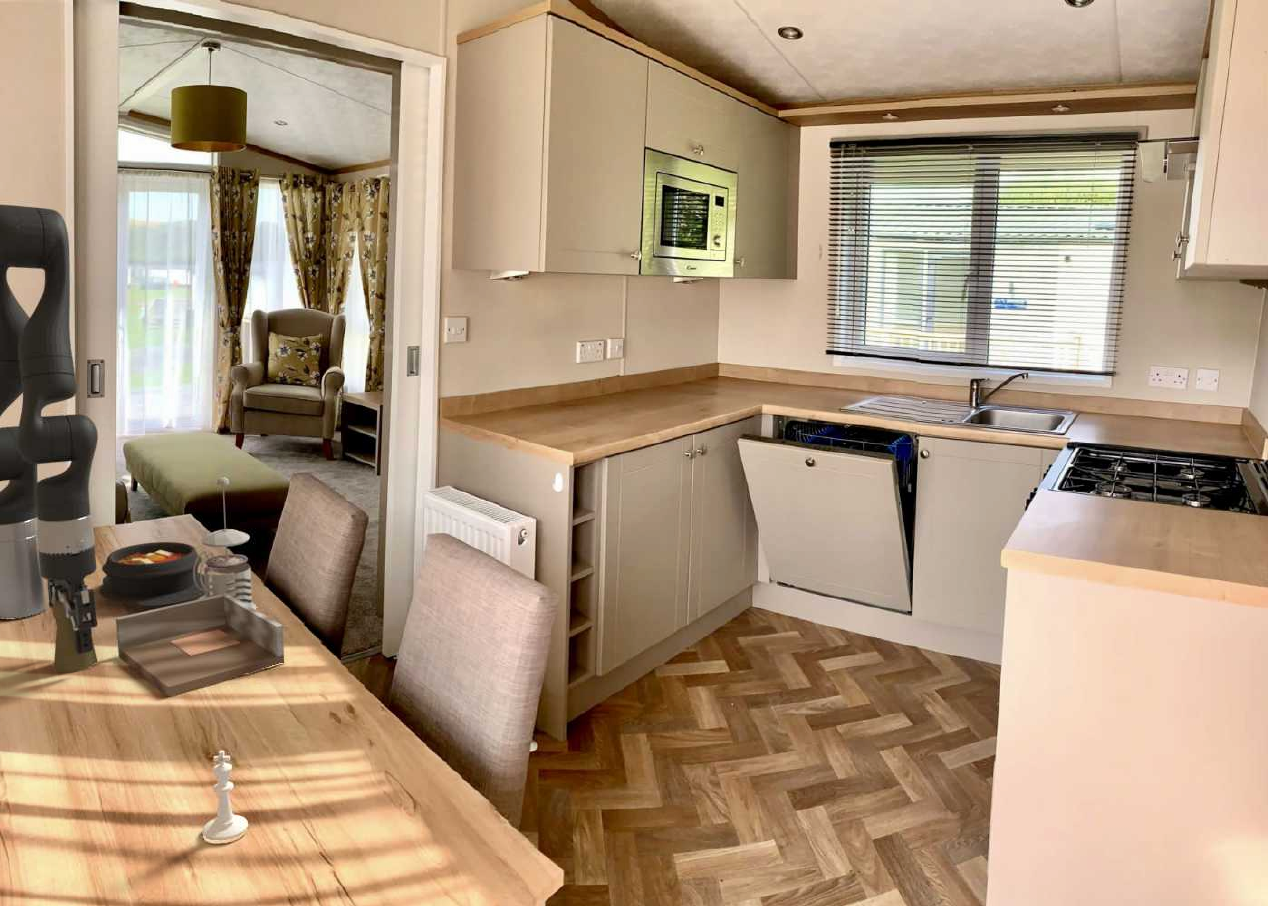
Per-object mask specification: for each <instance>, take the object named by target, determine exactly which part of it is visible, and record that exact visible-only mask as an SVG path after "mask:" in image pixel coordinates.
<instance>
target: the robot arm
mask: <svg viewBox="0 0 1268 906" xmlns="http://www.w3.org/2000/svg"><path fill="white" fill-rule="evenodd" d="M70 264H71V263H70V242H69V233H68V228H67V224H66V221H65V219H64V217H63V216H62V214H61V213H59V211H57V210H55V209H51V208H43V207H35V206H34V207H33V206H24V205H14V204H13V205H12V204H11V205H10V204H0V418H1V416H2V415H3V414H4V413H5V411H7V409H8V408H9V407H10V406H11V405H12V404H13V403H15V401H16V400H18V398H20V397H21V396H22V404H21V406H22V407H21V414H20V419H19V424H18V425H17V426H16V425H15V426H14V425H13V426H5V427H4V426H3V427H0V482H5V481H6V482H7V481H8V484H7V485H6V486H4V488H3V489H2V490H1V491H0V619H2V618H3V619H7V618H9V619H10V618H19V619H21V618H20V617H25V618H28V617H27V616H29V617H32V616H36V615H38V614H40V613H42V612H44V611H45V610H46V609H47V607H48V606H49V608H50V609H52V607H53V604H54V602H55V601H56V600H58V599H59V600H60V601H61V602H62V603H63V607H64V610H65V614H66V617H67V618H69V619H71V621H72V624H73V629H74V637H75V649H76V652H77V653H79V654H82V653H86V652H90V651H92V649H93V644H94V643H93V644H92V640H93V636H92V635H93V633H92V628H96V627H98V621H97V609H96V597H95V591H94V588H89V586H88V584H86V583H85V579H86V577H88V576H90V575H92V574H93V573H95V572H96V571H97V559H96V548H95V547H96V546H95V545H96V544H95V532H94V525H93V520H92V516H91V506H90V505H91V504H90V495H89V494H90V493H89V487H90V485H89V484H90V477H91V476H90V475H91V470H92V465H93V461H94V457H95V454H96V449H97V444H98V440H99V439H98V436H99V435H98V428H97V426H96V424H95V423H94V421H93V420H92V419H91V418H90V417H89V416H88V415H84V414H82V413H81V414H77V413H76V414H61V415H48V416H47V415H46V416H42V411H43V409H44V408H45V407H48V406H49V405H52V404H56V403H60V402H64V401H66V400H71V399H72V398H74V396H76V393H77V388H78V387H77V380H76V372H75V371H76V370H75V365H74V359H73V353H72V344H71V335H70V333H71V331H70V309H71V308H70V305H71V304H70V303H71V301H70V299H71V291H70V290H71V289H70V287H71V286H70V285H71V281H70V280H71V279H70V277H71V276H70V275H71V272H70V267H71V265H70ZM9 268H20V269H40V270H43V271H44V286H43V291H42V293H41V294H42V295H41V297H40V299H39V300H38V304H37V305H36V307H35V309H34V311H33V312H32V314H31V316H29V315H28V313H27V312H26V311H25V309H24V308H23V306H22V305H21V304H20V303H19V302H18V300H17V298H16V296H15V295H14V293H13V290H11V287H10V285H9V283H8V277H7V275H8V274H7V273H8V269H9ZM65 462H70V464H69V466H68V467H67V469H66V470H65V471H63V472H61V473H59V474H55V475H52V476H49V477H46V478H44V479H40V480H39V481H38V465H45V464H53V463H55V464H56V463H65ZM45 580H47V593H48V606H47V599H46V598H47V597H46V584H45ZM72 609H75V610H72ZM31 615H32V616H31ZM82 615H84V616H85V618H86V621H82ZM55 624H56V627H57V620H56V619H55Z"/></svg>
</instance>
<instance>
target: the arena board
mask: <svg viewBox="0 0 1268 906" xmlns="http://www.w3.org/2000/svg"><path fill="white" fill-rule="evenodd" d="M233 596H234V595H229V594H227V593H226V594H221V595H217V596H212V597H208V598H200V599H199V598H198V599H195V600H192V601H188V602H184V603H181V604H175V605H170V606H162V607H158V608H155V609H150V610H146V611H143V612H138V613H133V614H128V615H122V616H119V617H115V624H116V636H117V637H116V638H117V649H118V650H117V653H118V657H119V658H120V659H122V660H123V661H124V662H125V663H126V664H128V665H129V666H130V667H131V668H132V669H134V670H135V671H136V672H137V673H139V674H140V675H141V676H143V678H145V679H146V680H147V681H149V683H151V684H152V685H154V686H155V687H156V689H158V690H160V691H161V692H162V693H163V694H164V695H166V696H167V697H169V698H170V697H173V696H178V695H180V694H183V693H187V692H191V691H194V690H198V689H201V688H205V687H208V686H212V685H214V684H213V683H215V684H218V683H221V682H226V681H230V680H232V678H233V679H235V678H239V677H238V676H240V677H242V676H241V675H243V676H245V675H244V674H246V673H250V674H252V673H251V672H254V671H257V670H260V669H262V668H266V667H269V666H272V665H276V664H279V663H284V664H285V650H284V649H285V648H284V625H283V624H282V623H279V622H278V621H276V620H274V619H273V618H270V617H269V616H267V615H265V614H264V613H262V612H260V611H259V610H255V609H253V608H252V607H250V606H248V605H247V604H245V603H243V602H241V601H240V600H238V599H236V598H234V597H233ZM257 672H258V671H257ZM254 673H255V672H254ZM211 684H212V685H211ZM207 685H208V686H207Z"/></svg>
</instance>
